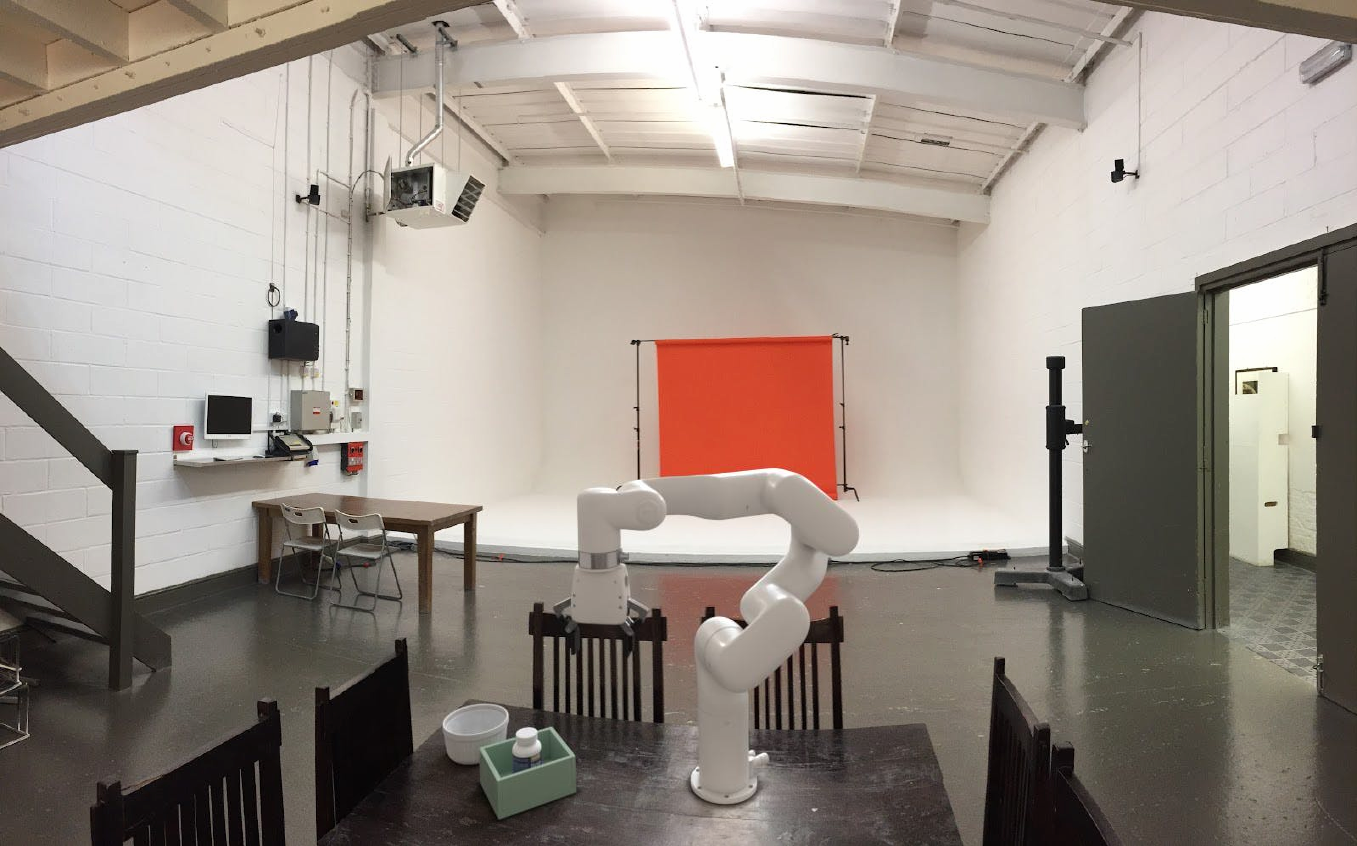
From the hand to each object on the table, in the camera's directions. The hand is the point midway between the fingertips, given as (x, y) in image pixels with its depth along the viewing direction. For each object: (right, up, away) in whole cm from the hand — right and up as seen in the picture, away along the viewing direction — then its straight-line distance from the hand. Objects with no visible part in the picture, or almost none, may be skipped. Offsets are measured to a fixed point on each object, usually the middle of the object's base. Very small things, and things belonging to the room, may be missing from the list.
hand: (601, 653), depth 116 cm
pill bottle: (-15, -27, +8) cm, 32 cm away
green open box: (-15, -28, +8) cm, 33 cm away
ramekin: (-29, -28, +20) cm, 45 cm away
